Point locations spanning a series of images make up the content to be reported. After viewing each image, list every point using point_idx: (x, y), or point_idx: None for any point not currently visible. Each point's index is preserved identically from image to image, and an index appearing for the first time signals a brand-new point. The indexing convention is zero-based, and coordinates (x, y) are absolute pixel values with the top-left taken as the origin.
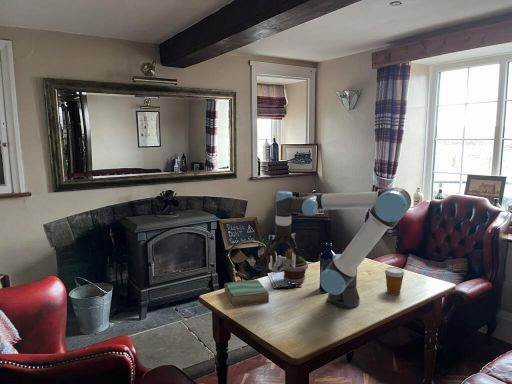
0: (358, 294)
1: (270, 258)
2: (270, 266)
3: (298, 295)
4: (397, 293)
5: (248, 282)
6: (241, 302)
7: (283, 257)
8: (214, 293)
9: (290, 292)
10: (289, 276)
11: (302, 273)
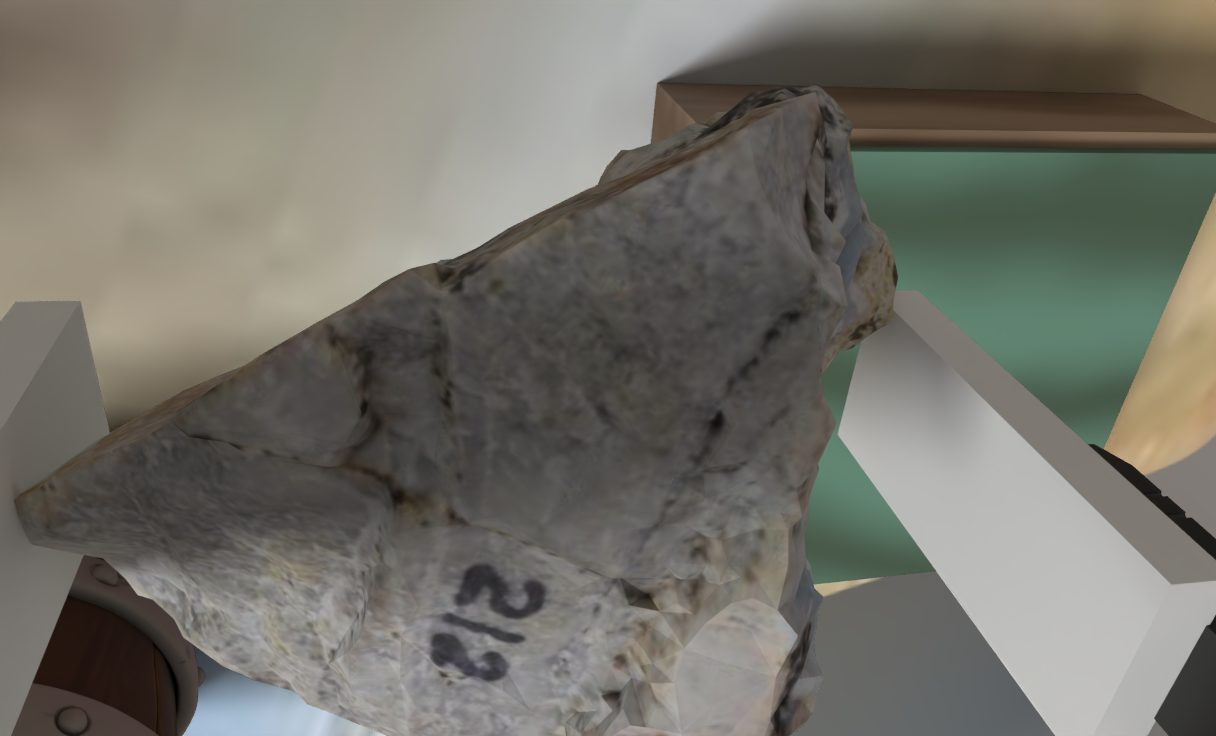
0: None
1: (1155, 544)
2: (976, 344)
3: (87, 170)
4: None
5: (810, 532)
6: (1068, 105)
7: (483, 668)
8: None
9: (203, 309)
10: (118, 644)
11: None
